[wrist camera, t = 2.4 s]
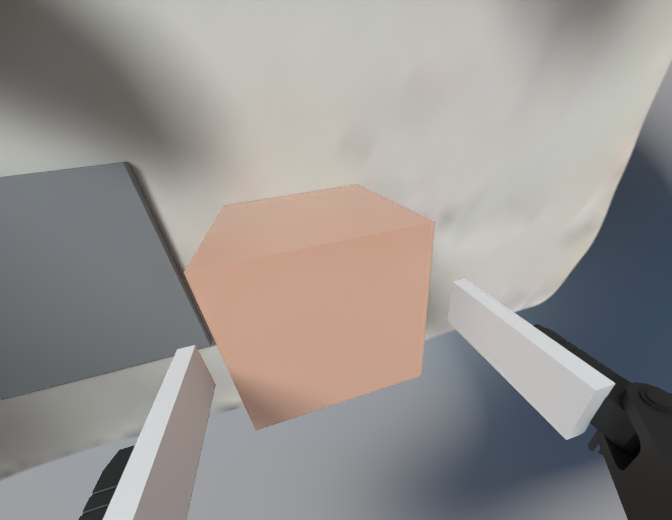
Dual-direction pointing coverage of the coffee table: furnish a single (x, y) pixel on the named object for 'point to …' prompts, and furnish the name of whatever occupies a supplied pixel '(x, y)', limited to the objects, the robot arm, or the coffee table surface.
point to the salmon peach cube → (315, 297)
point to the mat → (85, 280)
